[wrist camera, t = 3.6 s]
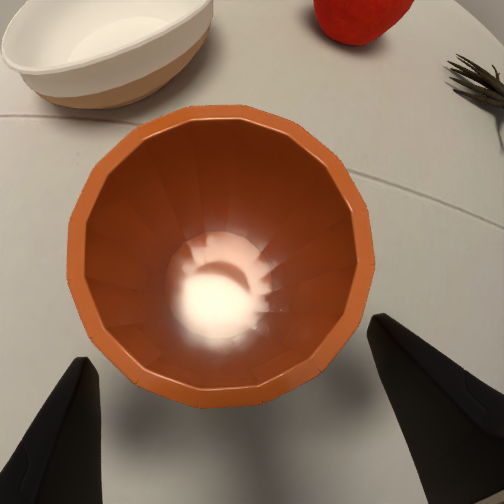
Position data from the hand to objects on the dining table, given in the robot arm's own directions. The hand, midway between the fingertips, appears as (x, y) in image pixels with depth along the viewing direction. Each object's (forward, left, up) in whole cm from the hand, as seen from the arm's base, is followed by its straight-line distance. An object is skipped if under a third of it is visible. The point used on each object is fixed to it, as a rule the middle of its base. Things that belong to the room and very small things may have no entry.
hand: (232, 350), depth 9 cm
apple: (+10, -27, -10) cm, 30 cm away
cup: (+2, -2, -10) cm, 10 cm away
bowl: (+21, -10, -10) cm, 25 cm away
